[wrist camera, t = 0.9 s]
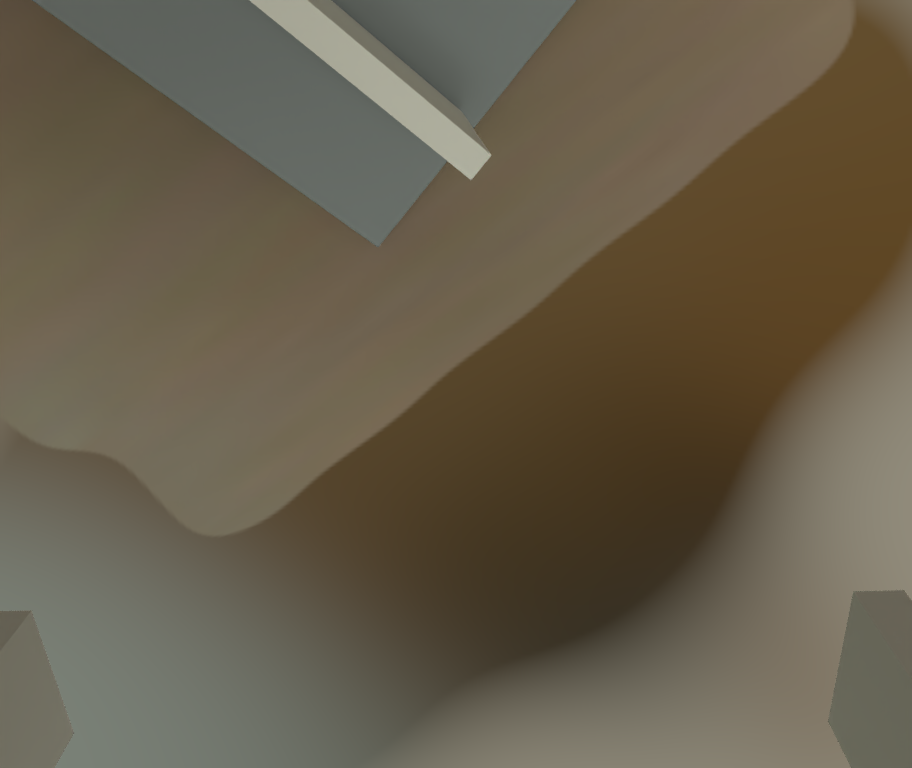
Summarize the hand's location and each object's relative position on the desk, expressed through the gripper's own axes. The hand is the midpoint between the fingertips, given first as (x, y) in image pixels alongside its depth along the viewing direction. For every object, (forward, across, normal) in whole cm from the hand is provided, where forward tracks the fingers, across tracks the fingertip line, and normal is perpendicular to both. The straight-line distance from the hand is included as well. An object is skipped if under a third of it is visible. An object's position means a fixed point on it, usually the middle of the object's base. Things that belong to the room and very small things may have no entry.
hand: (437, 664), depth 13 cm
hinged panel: (+27, -5, +10) cm, 29 cm away
